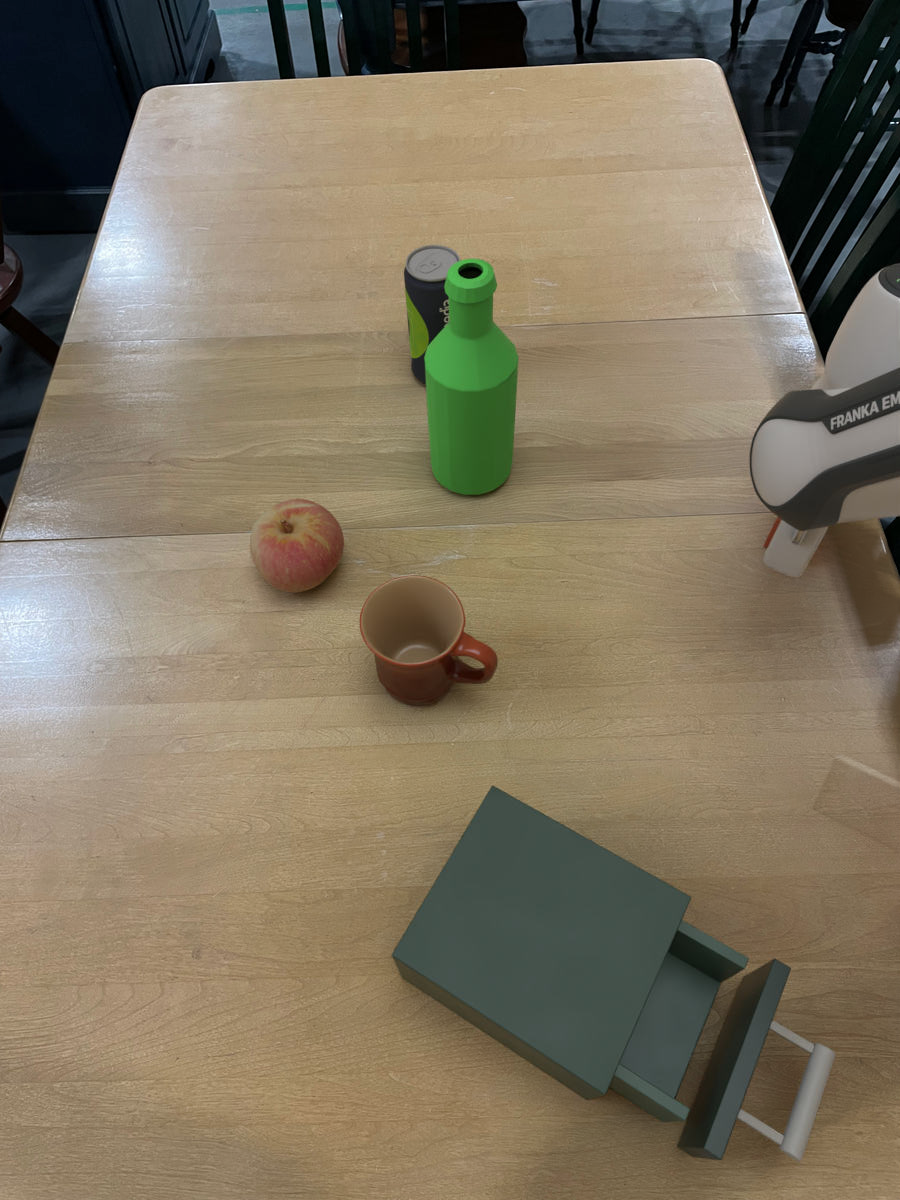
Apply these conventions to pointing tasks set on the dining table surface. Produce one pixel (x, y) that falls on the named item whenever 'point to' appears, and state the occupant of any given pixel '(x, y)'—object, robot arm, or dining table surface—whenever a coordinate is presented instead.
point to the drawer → (675, 1031)
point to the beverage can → (426, 299)
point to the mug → (421, 640)
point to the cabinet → (542, 941)
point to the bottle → (471, 386)
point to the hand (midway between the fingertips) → (797, 530)
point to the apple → (296, 545)
